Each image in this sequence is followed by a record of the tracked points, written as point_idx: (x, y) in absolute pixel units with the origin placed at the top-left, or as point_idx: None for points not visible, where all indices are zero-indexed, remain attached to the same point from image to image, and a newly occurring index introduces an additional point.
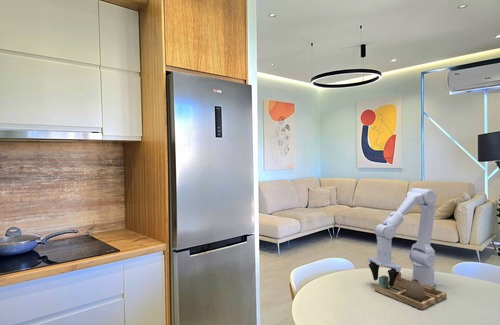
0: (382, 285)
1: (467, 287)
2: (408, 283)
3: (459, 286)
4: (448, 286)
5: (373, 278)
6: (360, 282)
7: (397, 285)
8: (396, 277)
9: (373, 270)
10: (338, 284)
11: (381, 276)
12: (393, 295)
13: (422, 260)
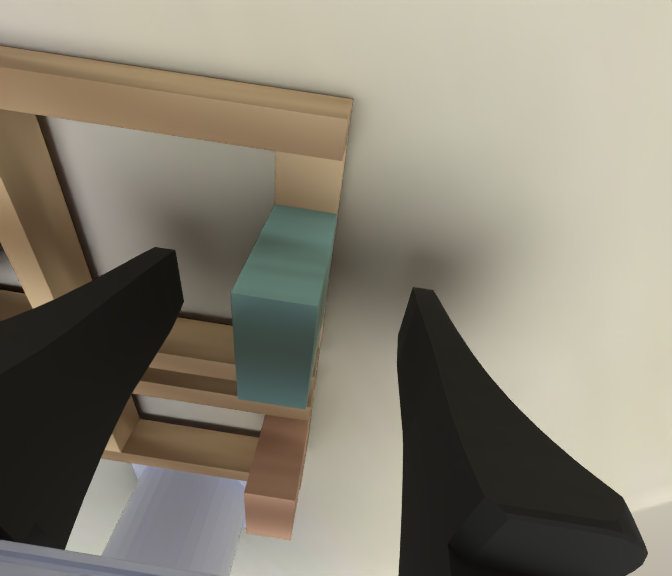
0: (270, 228)
1: (77, 532)
2: (213, 445)
3: (98, 528)
4: (116, 512)
5: (439, 301)
6: (618, 237)
7: (190, 351)
8: (254, 457)
9: (449, 403)
10: None
11: (307, 356)
12: (1, 55)
13: None
